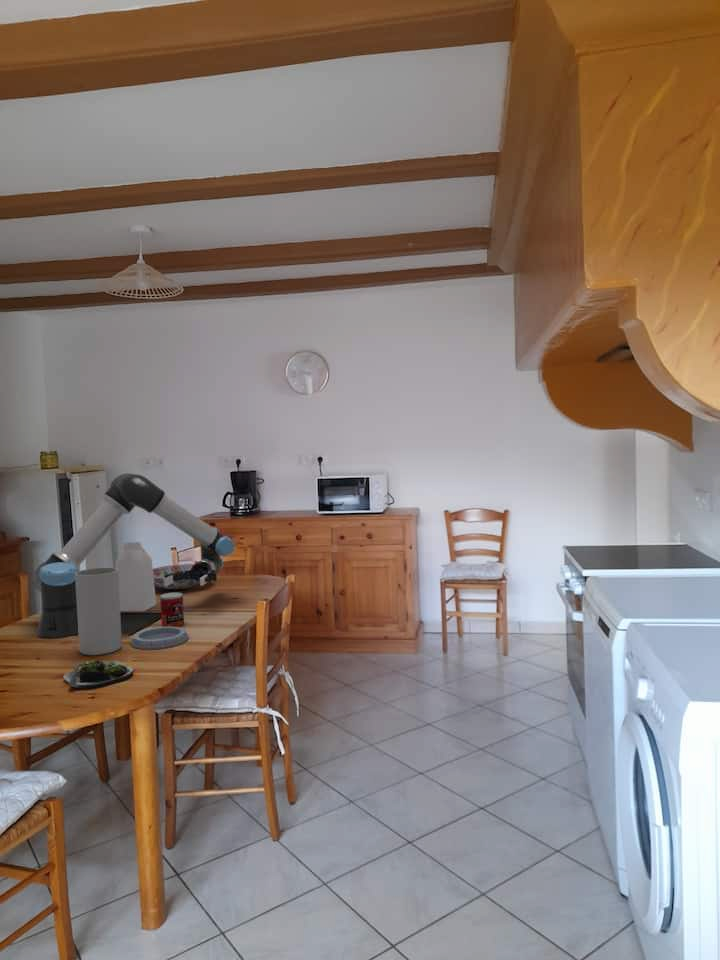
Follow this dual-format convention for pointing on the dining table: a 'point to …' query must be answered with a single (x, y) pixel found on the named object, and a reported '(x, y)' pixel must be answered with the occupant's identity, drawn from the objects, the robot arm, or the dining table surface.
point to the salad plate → (97, 674)
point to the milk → (135, 578)
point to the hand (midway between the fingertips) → (182, 582)
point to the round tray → (159, 638)
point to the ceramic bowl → (162, 571)
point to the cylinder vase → (98, 611)
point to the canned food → (172, 610)
